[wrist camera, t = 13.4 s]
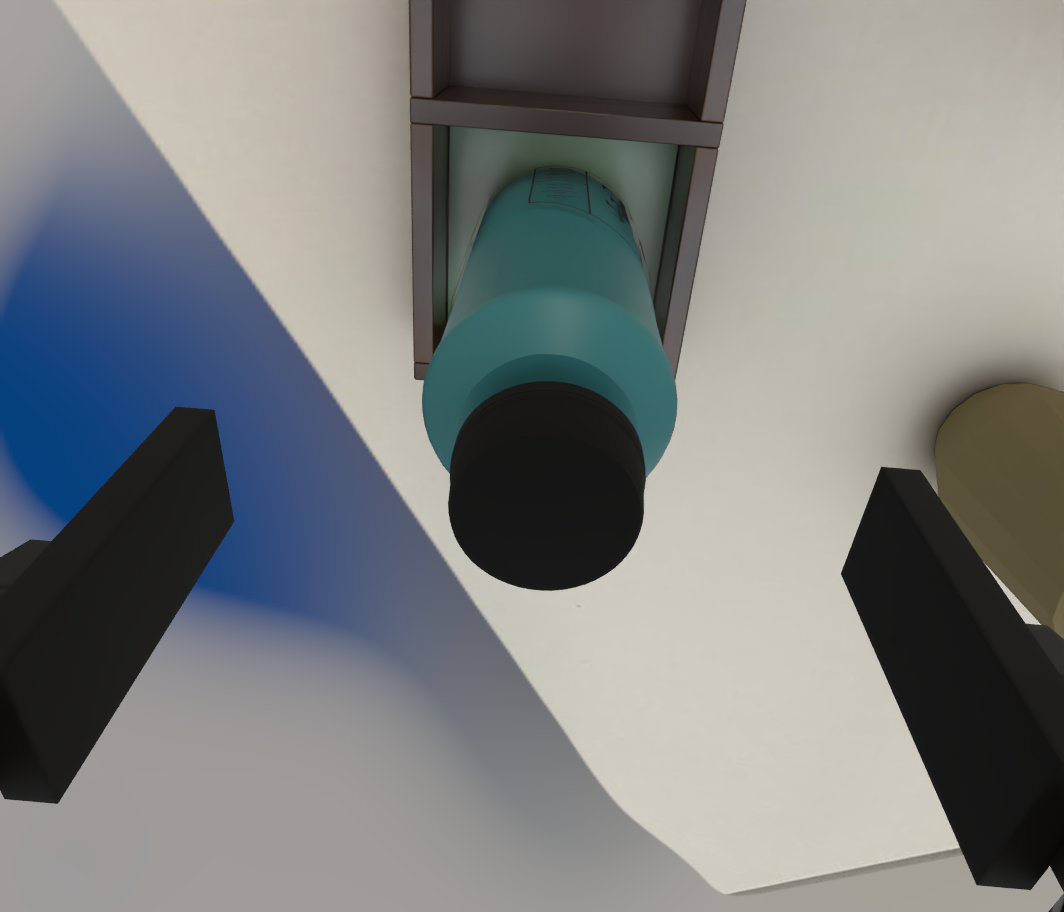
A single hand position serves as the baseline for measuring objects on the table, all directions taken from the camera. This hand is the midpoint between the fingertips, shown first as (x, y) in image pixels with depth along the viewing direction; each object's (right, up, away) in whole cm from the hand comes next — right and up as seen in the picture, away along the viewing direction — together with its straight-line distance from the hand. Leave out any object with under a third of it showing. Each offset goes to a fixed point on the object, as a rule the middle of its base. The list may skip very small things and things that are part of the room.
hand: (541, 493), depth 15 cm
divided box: (+1, +15, +15) cm, 21 cm away
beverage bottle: (+1, +10, +16) cm, 19 cm away
